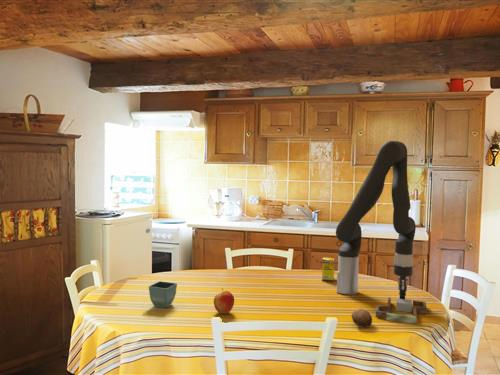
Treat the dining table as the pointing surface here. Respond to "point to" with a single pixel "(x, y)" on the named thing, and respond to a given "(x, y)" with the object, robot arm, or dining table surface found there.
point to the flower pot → (162, 293)
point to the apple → (224, 302)
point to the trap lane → (385, 313)
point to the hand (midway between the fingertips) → (402, 303)
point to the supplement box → (328, 269)
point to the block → (404, 305)
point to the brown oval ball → (362, 318)
